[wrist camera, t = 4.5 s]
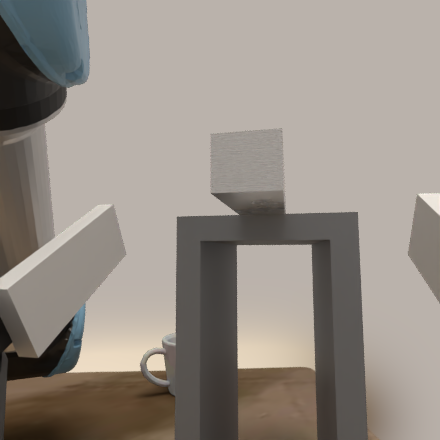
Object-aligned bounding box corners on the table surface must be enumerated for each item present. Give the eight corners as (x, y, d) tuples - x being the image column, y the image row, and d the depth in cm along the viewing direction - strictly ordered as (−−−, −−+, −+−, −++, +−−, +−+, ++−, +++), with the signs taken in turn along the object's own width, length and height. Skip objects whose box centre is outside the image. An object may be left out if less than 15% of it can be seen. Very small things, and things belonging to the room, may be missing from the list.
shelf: (377, 671, 21) (357, 212, 24) (173, 621, 24) (176, 216, 27) (335, 474, 40) (327, 229, 42) (223, 459, 42) (222, 230, 45)
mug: (224, 393, 62) (224, 340, 63) (147, 413, 55) (149, 351, 56) (200, 375, 71) (200, 328, 72) (132, 390, 64) (133, 337, 65)
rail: (283, 190, 15) (281, 128, 15) (210, 193, 16) (210, 133, 16) (285, 228, 41) (285, 204, 41) (257, 228, 41) (257, 205, 42)
